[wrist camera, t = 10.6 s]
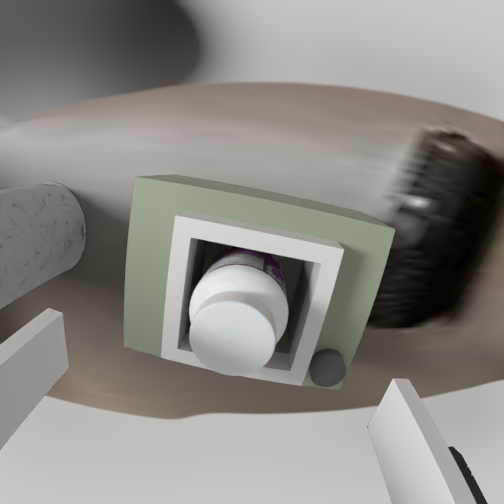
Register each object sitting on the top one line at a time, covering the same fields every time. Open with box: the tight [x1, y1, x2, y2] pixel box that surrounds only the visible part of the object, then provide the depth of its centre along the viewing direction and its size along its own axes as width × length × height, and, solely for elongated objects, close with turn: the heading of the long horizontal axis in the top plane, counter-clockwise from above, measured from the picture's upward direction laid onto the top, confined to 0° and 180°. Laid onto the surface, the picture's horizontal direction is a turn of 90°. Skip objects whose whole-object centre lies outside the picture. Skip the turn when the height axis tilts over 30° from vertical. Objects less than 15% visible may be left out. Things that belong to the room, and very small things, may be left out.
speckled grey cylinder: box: [0, 182, 86, 309], centre depth 21 cm, size 10×10×12 cm
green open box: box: [124, 175, 395, 390], centre depth 22 cm, size 16×12×10 cm
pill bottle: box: [189, 245, 289, 376], centre depth 18 cm, size 5×5×10 cm
